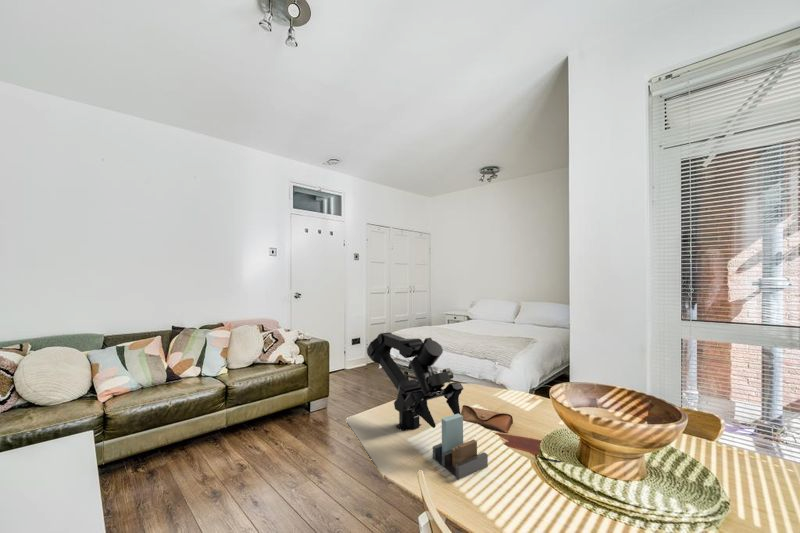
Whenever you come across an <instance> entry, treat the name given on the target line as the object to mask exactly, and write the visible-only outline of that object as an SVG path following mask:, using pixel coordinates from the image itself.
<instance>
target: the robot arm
mask: <svg viewBox="0 0 800 533" xmlns="http://www.w3.org/2000/svg"><path fill="white" fill-rule="evenodd" d="M392 349H395V350H397V351H399V355H400V356H402V357H403V358H405V359H410V358H412V359H411V360H409V363H408V367H407V369H408V370H412V372H413V374H414V376H415V378H416V379H410V380H409V378H407V376H406V375H405V373H404V372H403V371H402V370H401V369H400V368H399V366H398V364H397V362H395V360H394V359H393V358H392V356H391V350H392ZM443 352H444V350H443V347H442V345H441V344H440V343H439V342H437V341H436V340H433V339H432V337H425V339H424V340H422V339H421V338H406V337H402V336H399V335H396V334H393V333H392V332H389V331H388V332H380V333H379V334H378V335H377V337H375V338H374V339H373V340H372V341H371V342H370V343H369V345H367V348H366V353H367V356H368V358H369V359H370V360H372V362H374V363H376V364H377V365H380V367H381V368H382V369H383V370H384V372H385V374H386V375H387V377H388V378H389V379H390V382H392V384H393V385H394V388H396V390H397V395H396V396H397V397H396V399H395V400H394V401H393V406H394V410H396V411H397V412H398V415H399V416H398V419H399V420H398V422H399V423H397V424H396V425H395V427H396V428H398V429H400V430H401V431H408V430H413V431H414V430H415V431H416V430H417V429H419V428H420V427H421V426H422V424H420V418H422V419H423V420H424V421H425V422H426V423H427V424H428V425H429V426H430V427H432V429H435V428H436V423H435V420H434V417H433V415H432V412H431V411H430V409H429V407H428V406H429V405H428V401H429V400H434V399H437V398H440V397H444V398H445V399H446V401H445V402H446V404H447V405H448V407H449V408H450V410H451V411H452V413H453V415H455V414H461V410H460V402H459V400H460V399H459V397H460V395H461V394H462V391H463V390H464V389H465V388H464V387H463V384H462V383H461V382H460V381H454V382H453V381H452V382H451V380H452V379H454V374H453V371H452V369H451V368H450V367H448V368H447V367H446V368H444V369H442V372H438V371H437V370H434V369H433V368H432V366H434V365H435V363H436V362H437V361H438V360H439V358H440V357H441V356H442V354H443ZM446 383H448V384H447V385H446ZM445 385H446V387H445ZM444 387H445V388H444Z"/></svg>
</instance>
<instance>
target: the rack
mask: <svg viewBox="0 0 800 533" xmlns="http://www.w3.org/2000/svg"><path fill="white" fill-rule="evenodd" d="M488 458H489V456H488V454H487V453H486V452H484V451H483V452H481V453H479V454H477V455H476V456H474V457H471V458H469V459H466V460H464V461H462V462H459V463H457V464H456V469H455V468H454V467H453V466H452V450H449V451H447V452H444V453H442V442H441V443H439V444H435V445H433V446H432V459H433V460H434V461H435V462H437V463H438V464H439V465H440V466H441V467H442V468H444V469H445V470H447V472H449V473H450V474H451V475H453V476H454V477H455V478H456V479H457V480H461V479H464V478H467V476H470V475H472V474H476V473H477V472H479V471H481V470H484V469H487V468H488V467H489V466H488V465H489V464H488V463H489V462H488V460H489V459H488Z"/></svg>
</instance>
